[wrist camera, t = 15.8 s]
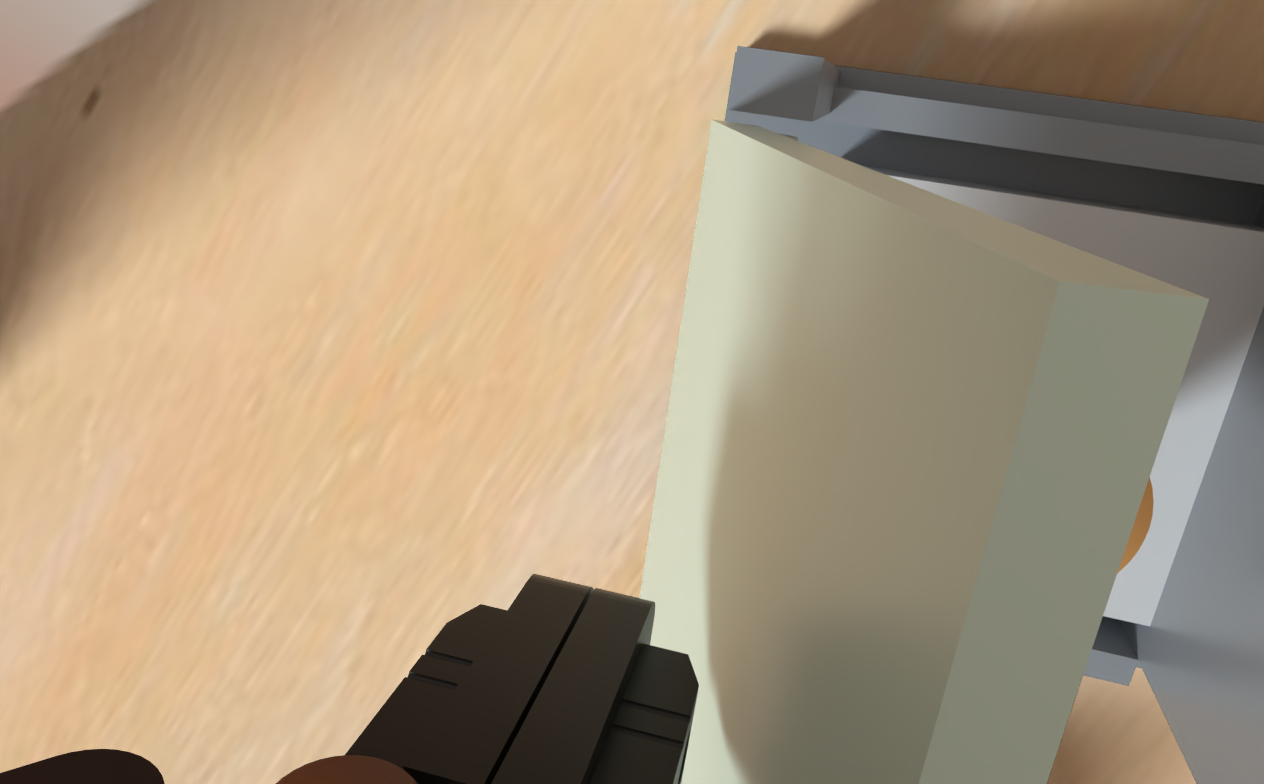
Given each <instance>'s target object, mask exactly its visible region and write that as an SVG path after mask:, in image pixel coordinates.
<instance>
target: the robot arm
mask: <svg viewBox="0 0 1264 784" xmlns="http://www.w3.org/2000/svg"><path fill="white" fill-rule="evenodd" d="M654 616H655V602H653V601H649V600H644V599H640V598H636V597H632V596H627V595H623V594H619V593H615V592H610V591H606V590H602V589H598V588H596V589H594V590H593V588H592V587H588V586H584V585H580V584H575V583H571V582H567V581H563V580H558V579H554V578H550V577H546V576H541V575H537V574H533V575H532V576H531V577H530V578H529V580H528V581H527V583H526V584H525V585H524V587H523V588H522V590H521V591H520V593H519V594H518V596H517V597H516V599H515V600H514V602H513V603H512V605H511V606H510V608H509V609H508V611H506V610H502V609H498V608H494V607H490V606H486V605H482V604H481V605H479V606H477V607H475V608H473V609H471V610H470V611H468V612H466V613H464V614H462V615H460V616H459V617H457V618H455V619H453V620H451V621H450V622H448V623H446V625H445V626H444V627H443V629H442V630H441V631H440V633H439V634H438V635H437V636H436V638H435V639H434V640H433V642H432V643H431V644H430V646H429V647H428V648H427V649H426V654H425V655H422V656H421V657H420V658H419V660H418V661H417V662H416V664H415V665H414V666H413V668H412V669H411V670H410V671H409V676H408V678H406V677H405V678H404V679H403V680H402V682H401V683H400V684H399V686H398V687H397V688H396V690H395V691H394V692H393V693H392V695H391V696H390V697H389V699H388V700H387V701H386V703H385V704H384V705H383V706H382V708H381V709H380V710H379V712H378V713H377V714H376V715H375V717H374V718H373V719H372V721H371V722H370V723H369V725H368V726H367V727H366V728H365V730H364V731H363V732H362V734H361V735H360V736H359V738H358V739H357V740H356V741H355V743H354V744H353V745H352V747H351V748H350V749H349V750H348V752H347V753H346V754H345V755H344V756H334V757H329V758H325V759H320V760H317V761H314V762H311V763H308V764H306V765H304V766H302V767H300V768H298V769H295V770H294V771H292V772H291V773H289V774H288V775H286V776H284V777H283V778H282V779H281V780H280V781H278V782H277V783H276V784H681V782H682V777H683V771H684V766H685V760H686V755H687V749H688V743H689V738H690V732H691V727H692V721H693V716H694V710H695V705H696V699H697V694H698V688H699V684H698V681H697V678H696V675H695V672H694V669H693V667H692V664H691V661H690V658H689V655H688V654H685V653H681V652H676V651H672V650H668V649H664V648H660V647H656V646H652V645H650V642H651V635H652V629H653V623H654ZM0 784H164V780H163V777H162V775H161V773H160V772H159V770H158V769H157V768H156V767H155V766H154V765H153V764H152V763H151V762H150V761H148V760H146V759H145V758H143V757H141V756H139V755H136V754H133V753H130V752H125V751H120V750H110V749H94V750H83V751H77V752H70V753H67V754H63V755H59V756H55V757H52V758H48V759H45V760H42V761H39V762H35V763H32V764H29V765H26V766H22V767H19V768H16V769H13V770H9V771H6V772H3V773H0Z"/></svg>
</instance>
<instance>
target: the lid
mask: <svg viewBox="0 0 1264 784" xmlns="http://www.w3.org/2000/svg"><path fill="white" fill-rule="evenodd" d="M1208 301H1209V299H1207V298H1205V297H1202V296H1200V295H1197V294H1194V293H1192V292H1189V291H1187V290H1184V289H1181V288H1179V287H1176V286H1174V285H1171V284H1168V283H1166V282H1163V281H1161V280H1158V279H1155V278H1153V277H1150V276H1148V275H1145V274H1142V273H1140V272H1137V271H1135V270H1132V269H1129V268H1127V267H1124V266H1121V265H1119V264H1116V263H1114V262H1111V261H1108V260H1106V259H1103V258H1101V257H1098V256H1095V255H1093V254H1090V253H1088V252H1085V251H1082V250H1080V249H1077V248H1075V247H1072V246H1069V245H1067V244H1064V243H1062V242H1059V241H1056V240H1054V239H1051V238H1049V237H1046V236H1043V235H1041V234H1038V233H1036V232H1033V231H1030V230H1028V229H1025V228H1023V227H1020V226H1017V225H1015V224H1012V223H1010V222H1007V221H1004V220H1002V219H999V218H997V217H994V216H991V215H989V214H986V213H984V212H981V211H978V210H976V209H973V208H971V207H968V206H965V205H963V204H960V203H958V202H955V201H952V200H950V199H947V198H945V197H942V196H939V195H937V194H934V193H932V192H929V191H926V190H924V189H921V188H918V187H916V186H913V185H911V184H908V183H905V182H903V181H900V180H898V179H895V178H892V177H890V176H887V175H885V174H882V173H879V172H877V171H874V170H872V169H869V168H866V167H864V166H861V165H859V164H856V163H853V162H851V161H848V160H846V159H843V158H840V157H838V156H835V155H833V154H830V153H827V152H825V151H822V150H820V149H817V148H814V147H812V146H809V145H807V144H804V143H801V142H799V141H798V137H795V136H790V135H785V134H779V133H775V132H773V131H770V130H768V129H765V128H762V127H760V126H755V125H747V124H740V123H732V122H725V121H717V120H712V121H711V128H710V135H709V141H708V148H707V154H706V161H705V168H704V174H703V181H702V188H701V194H700V201H699V207H698V214H697V221H696V227H695V234H694V240H693V247H692V254H691V260H690V267H689V273H688V280H687V287H686V293H685V300H684V306H683V313H682V320H681V326H680V333H679V340H678V346H677V353H676V359H675V366H674V373H673V379H672V386H671V392H670V399H669V406H668V412H667V419H666V425H665V432H664V439H663V445H662V452H661V459H660V465H659V472H658V478H657V485H656V492H655V498H654V505H653V511H652V518H651V525H650V531H649V538H648V544H647V551H646V558H645V564H644V571H643V578H642V584H641V591H640V597H639V598H640V599H644V600H649V601H653V602H655V616H654V623H653V629H652V635H651V642H650V645H652V646H656V647H660V648H664V649H668V650H672V651H676V652H681V653H685V654H688V655H689V658H690V661H691V664H692V667H693V669H694V672H695V675H696V678H697V681H698V684H699V688H698V694H697V699H696V705H695V710H694V716H693V721H692V727H691V732H690V738H689V743H688V749H687V755H686V760H685V766H684V771H683V777H682V782H681V784H1047V781H1048V778H1049V775H1050V772H1051V769H1052V766H1053V763H1054V760H1055V757H1056V754H1057V751H1058V748H1059V745H1060V743H1061V740H1062V737H1063V734H1064V731H1065V728H1066V725H1067V722H1068V719H1069V716H1070V713H1071V710H1072V707H1073V704H1074V701H1075V698H1076V695H1077V692H1078V689H1079V686H1080V683H1081V680H1082V677H1083V674H1084V671H1085V668H1086V665H1087V662H1088V659H1089V656H1090V653H1091V650H1092V647H1093V644H1094V641H1095V638H1096V635H1097V632H1098V629H1099V626H1100V623H1101V620H1102V617H1103V614H1104V611H1105V608H1106V605H1107V602H1108V599H1109V596H1110V593H1111V590H1112V588H1113V585H1114V582H1115V579H1116V576H1117V573H1118V570H1119V567H1120V564H1121V561H1122V558H1123V555H1124V552H1125V549H1126V546H1127V543H1128V540H1129V537H1130V534H1131V531H1132V528H1133V525H1134V522H1135V519H1136V516H1137V513H1138V510H1139V507H1140V504H1141V501H1142V498H1143V495H1144V492H1145V489H1146V486H1147V483H1148V480H1149V477H1150V474H1151V471H1152V468H1153V465H1154V462H1155V459H1156V456H1157V453H1158V450H1159V447H1160V444H1161V441H1162V438H1163V436H1164V433H1165V430H1166V427H1167V424H1168V421H1169V418H1170V415H1171V412H1172V409H1173V406H1174V403H1175V400H1176V397H1177V394H1178V391H1179V388H1180V385H1181V382H1182V379H1183V376H1184V373H1185V370H1186V367H1187V364H1188V361H1189V358H1190V355H1191V352H1192V349H1193V346H1194V343H1195V340H1196V337H1197V334H1198V331H1199V328H1200V325H1201V322H1202V319H1203V316H1204V313H1205V310H1206V307H1207V304H1208Z"/></svg>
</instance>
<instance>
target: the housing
mask: <svg viewBox="0 0 1264 784" xmlns="http://www.w3.org/2000/svg"><path fill="white" fill-rule="evenodd" d="M725 122H732V123H740V124H747V125H755V126H760V127H762V128H765V129H768V130H770V131H773V132H775V133H779V134H785V135H790V136H795V137H798V141H799V142H801V143H804V144H807V145H809V146H812V147H814V148H817V149H820V150H822V151H825V152H827V153H830V154H833V155H835V156H838V157H840V158H843V159H846V160H848V161H851V162H853V163H856V164H859V165H861V166H864V167H866V168H869V169H872V170H874V171H877V172H879V173H882V174H885V175H887V176H890V177H892V178H895V179H898V180H900V181H903V182H905V183H908V184H911V185H913V186H916V187H918V188H921V189H924V190H926V191H929V192H932V193H934V194H937V195H939V196H942V197H945V198H947V199H950V200H952V201H955V202H958V203H960V204H963V205H965V206H968V207H971V208H973V209H976V210H978V211H981V212H984V213H986V214H989V215H991V216H994V217H997V218H999V219H1002V220H1004V221H1007V222H1010V223H1012V224H1015V225H1017V226H1020V227H1023V228H1025V229H1028V230H1030V231H1033V232H1036V233H1038V234H1041V235H1043V236H1046V237H1049V238H1051V239H1054V240H1056V241H1059V242H1062V243H1064V244H1067V245H1069V246H1072V247H1075V248H1077V249H1080V250H1082V251H1085V252H1088V253H1090V254H1093V255H1095V256H1098V257H1101V258H1103V259H1106V260H1108V261H1111V262H1114V263H1116V264H1119V265H1121V266H1124V267H1127V268H1129V269H1132V270H1135V271H1137V272H1140V273H1142V274H1145V275H1148V276H1150V277H1153V278H1155V279H1158V280H1161V281H1163V282H1166V283H1168V284H1171V285H1174V286H1176V287H1179V288H1181V289H1184V290H1187V291H1189V292H1192V293H1194V294H1197V295H1200V296H1202V297H1205V298H1207V299H1209V301H1208V304H1207V307H1206V310H1205V313H1204V316H1203V319H1202V322H1201V325H1200V328H1199V331H1198V334H1197V337H1196V340H1195V343H1194V346H1193V349H1192V352H1191V355H1190V358H1189V361H1188V364H1187V367H1186V370H1185V373H1184V376H1183V379H1182V382H1181V385H1180V388H1179V391H1178V394H1177V397H1176V400H1175V403H1174V406H1173V409H1172V412H1171V415H1170V418H1169V421H1168V424H1167V427H1166V430H1165V433H1164V436H1163V438H1162V441H1161V444H1160V447H1159V450H1158V453H1157V456H1156V459H1155V462H1154V465H1153V468H1152V471H1151V474H1150V480H1151V484H1152V488H1153V500H1154V504H1153V515H1152V520H1151V524H1150V528H1149V530H1148V533H1147V535H1146V538H1145V540H1144V542H1143V544H1142V545H1141V547H1140V549H1139V550H1138V552H1137V553H1136V555H1135V556H1134V557H1133V558H1132V560H1131V561H1130V562H1129V563H1128V564H1127V565H1126V566H1125V567H1124V568H1123V569H1122V570H1121V571H1120V572H1119V573H1117V576H1116V579H1115V582H1114V585H1113V588H1112V590H1111V593H1110V596H1109V599H1108V602H1107V605H1106V608H1105V611H1104V614H1103V617H1102V620H1101V623H1100V626H1099V629H1098V632H1097V635H1096V638H1095V641H1094V644H1093V647H1092V650H1091V653H1090V656H1089V659H1088V662H1087V665H1086V668H1085V671H1084V674H1083V675H1085V676H1089V677H1093V678H1097V679H1102V680H1106V681H1110V682H1114V683H1119V684H1123V685H1127V686H1129V684H1130V681H1131V678H1132V676H1133V673H1134V670H1135V667H1139V668H1142V669H1143V671H1144V673H1145V675H1146V678H1147V680H1148V682H1149V684H1150V686H1151V688H1152V690H1153V692H1154V694H1155V697H1156V699H1157V701H1158V703H1159V705H1160V707H1161V709H1162V711H1163V713H1164V716H1165V718H1166V720H1167V722H1168V724H1169V726H1170V728H1171V730H1172V732H1173V735H1174V737H1175V739H1176V741H1177V743H1178V745H1179V747H1180V749H1181V751H1182V754H1183V756H1184V758H1185V760H1186V762H1187V764H1188V766H1189V768H1190V770H1191V773H1192V775H1193V777H1194V779H1195V781H1196V783H1197V784H1264V123H1263V122H1256V121H1248V120H1241V119H1233V118H1226V117H1218V116H1211V115H1203V114H1196V113H1188V112H1181V111H1173V110H1166V109H1158V108H1151V107H1143V106H1135V105H1128V104H1120V103H1113V102H1105V101H1098V100H1090V99H1083V98H1075V97H1068V96H1060V95H1053V94H1045V93H1038V92H1030V91H1023V90H1015V89H1008V88H1000V87H993V86H985V85H977V84H970V83H962V82H955V81H947V80H940V79H932V78H925V77H917V76H910V75H902V74H895V73H887V72H880V71H872V70H865V69H857V68H850V67H842V66H835V65H833V64H832V63H830V62H829V61H828V60H827V59H825V58H824V57H817V56H809V55H802V54H794V53H787V52H779V51H771V50H764V49H756V48H749V47H741V46H738V47H737V52H736V53H735V59H734V66H733V72H732V78H731V85H730V91H729V98H728V104H727V110H726V117H725Z"/></svg>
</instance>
